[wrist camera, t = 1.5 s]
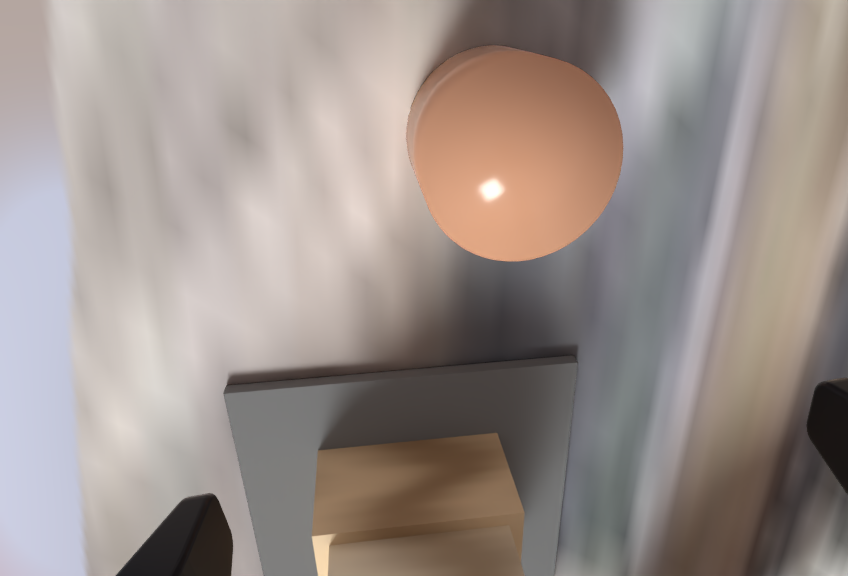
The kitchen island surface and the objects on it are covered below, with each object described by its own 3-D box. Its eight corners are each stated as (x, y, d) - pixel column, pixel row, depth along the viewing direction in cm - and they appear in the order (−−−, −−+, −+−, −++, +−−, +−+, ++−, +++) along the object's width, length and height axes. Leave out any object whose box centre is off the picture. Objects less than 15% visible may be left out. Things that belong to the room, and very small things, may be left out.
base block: (497, 432, 23) (524, 512, 19) (492, 555, 26) (515, 643, 22) (318, 450, 22) (311, 536, 19) (335, 573, 25) (332, 667, 22)
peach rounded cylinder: (576, 41, 17) (636, 51, 14) (562, 208, 19) (610, 254, 16) (402, 48, 17) (417, 60, 13) (409, 218, 19) (423, 268, 15)
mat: (573, 355, 22) (577, 362, 22) (549, 581, 28) (552, 590, 27) (226, 385, 21) (223, 393, 20) (276, 615, 27) (274, 625, 26)
